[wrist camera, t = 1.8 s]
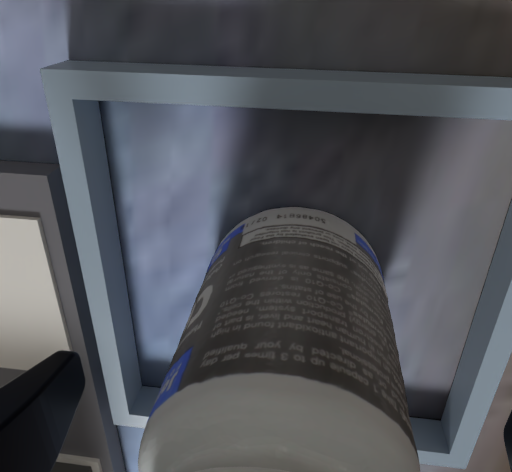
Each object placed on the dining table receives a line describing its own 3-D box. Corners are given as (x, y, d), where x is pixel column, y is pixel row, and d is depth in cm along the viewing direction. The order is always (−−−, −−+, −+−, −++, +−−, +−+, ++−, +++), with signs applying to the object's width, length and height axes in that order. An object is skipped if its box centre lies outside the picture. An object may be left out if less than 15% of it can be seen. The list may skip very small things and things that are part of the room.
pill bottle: (199, 206, 12) (8, 550, 5) (383, 197, 11) (491, 595, 4) (224, 342, 14) (122, 717, 7) (379, 344, 13) (444, 767, 6)
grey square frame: (581, 80, 9) (613, 92, 8) (455, 435, 15) (465, 469, 14) (67, 60, 11) (39, 68, 10) (127, 395, 16) (113, 424, 15)
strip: (62, 164, 12) (40, 180, 11) (139, 537, 21) (130, 564, 20) (-159, 150, 13) (-199, 163, 12) (6, 517, 21) (-9, 542, 20)
